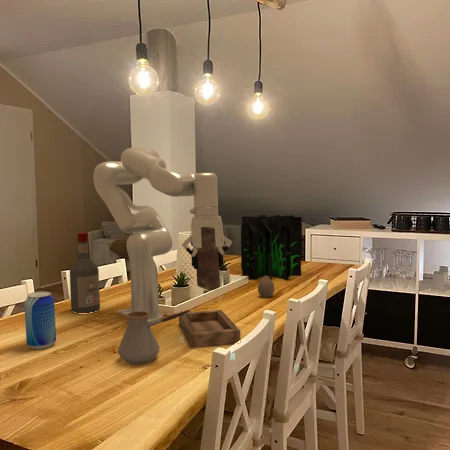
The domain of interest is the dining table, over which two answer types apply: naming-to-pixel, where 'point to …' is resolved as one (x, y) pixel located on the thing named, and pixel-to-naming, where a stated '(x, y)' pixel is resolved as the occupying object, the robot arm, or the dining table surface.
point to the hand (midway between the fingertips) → (207, 267)
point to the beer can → (40, 320)
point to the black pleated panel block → (271, 246)
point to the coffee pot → (141, 338)
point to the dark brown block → (208, 261)
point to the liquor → (84, 280)
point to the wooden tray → (209, 328)
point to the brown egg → (266, 287)
